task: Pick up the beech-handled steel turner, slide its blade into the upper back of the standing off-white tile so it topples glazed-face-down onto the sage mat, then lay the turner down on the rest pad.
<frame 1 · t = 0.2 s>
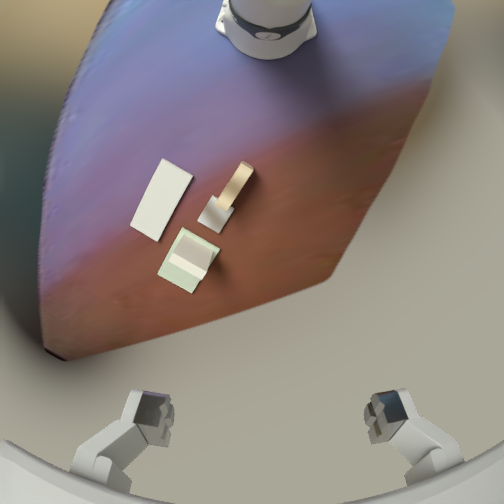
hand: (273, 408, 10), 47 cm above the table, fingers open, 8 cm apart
turner: (235, 183, 53), on the table
mat: (187, 261, 60), on the table
rest pad: (159, 201, 54), on the table
tile: (196, 246, 58), resting on mat
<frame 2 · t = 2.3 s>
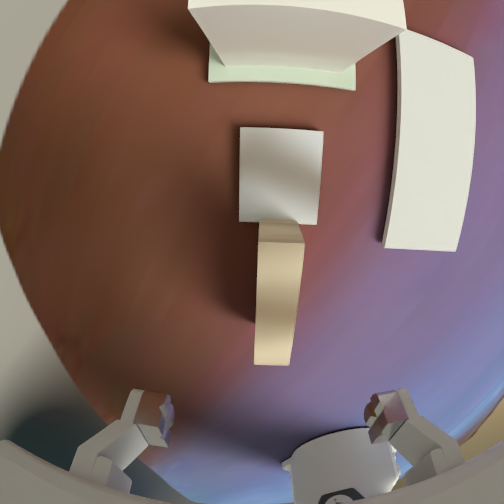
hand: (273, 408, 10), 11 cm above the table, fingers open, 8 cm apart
turner: (274, 277, 20), on the table
rest pad: (436, 142, 15), on the table
tile: (283, 52, 14), resting on mat
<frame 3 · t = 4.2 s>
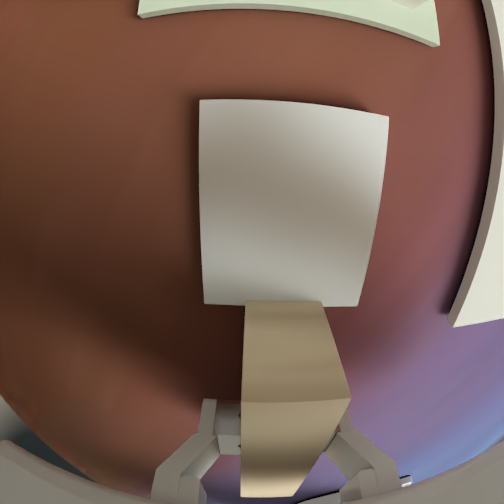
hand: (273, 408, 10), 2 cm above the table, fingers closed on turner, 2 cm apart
turner: (272, 377, 11), on the table, touching gripper
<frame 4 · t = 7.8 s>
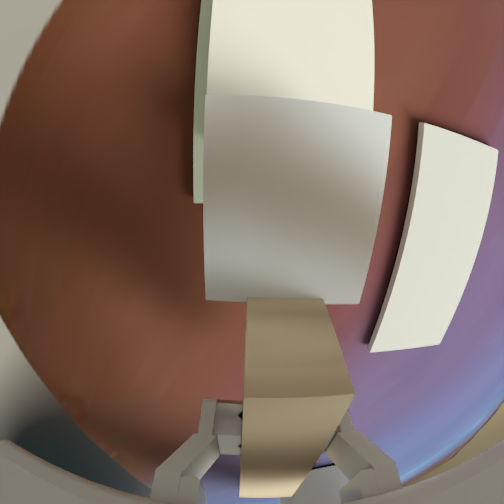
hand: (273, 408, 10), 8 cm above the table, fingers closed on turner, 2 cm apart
turner: (272, 376, 11), point 7 cm above the table, touching gripper
mat: (287, 81, 12), on the table
rest pad: (438, 253, 16), on the table
tile: (287, 147, 12), point 2 cm above the table, tilted 90°, touching mat
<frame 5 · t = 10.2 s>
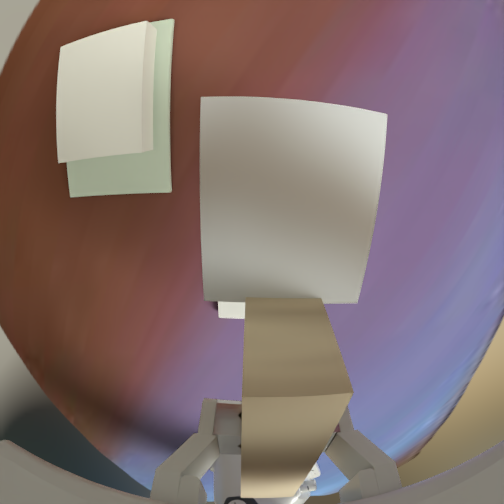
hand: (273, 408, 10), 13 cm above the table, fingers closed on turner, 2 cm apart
turner: (271, 376, 11), point 11 cm above the table, touching gripper
mat: (113, 108, 16), on the table
rest pad: (265, 224, 20), on the table
tile: (103, 155, 16), point 2 cm above the table, tilted 90°, touching mat
when the fingers open (3 cm above the table, at t = 12.2 s): turner stays where it is, resting on rest pad.
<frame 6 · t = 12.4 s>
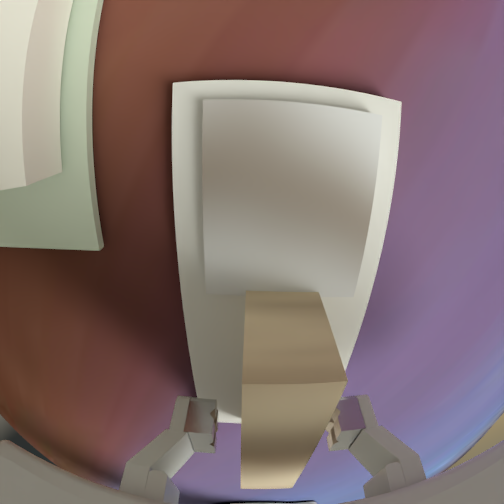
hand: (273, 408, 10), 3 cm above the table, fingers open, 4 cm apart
turner: (271, 369, 12), point 1 cm above the table, touching rest pad
mat: (14, 102, 7), on the table
rest pad: (275, 307, 11), on the table
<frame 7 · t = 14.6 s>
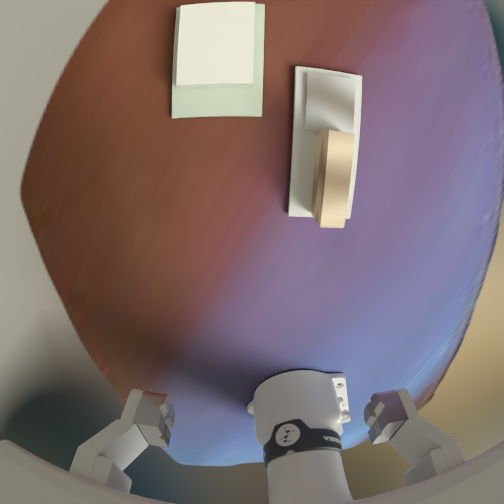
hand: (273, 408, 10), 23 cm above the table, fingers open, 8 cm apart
turner: (325, 171, 28), point 1 cm above the table, touching rest pad
mat: (217, 57, 23), on the table
rest pad: (325, 143, 27), on the table
tile: (215, 85, 23), point 2 cm above the table, tilted 90°, touching mat
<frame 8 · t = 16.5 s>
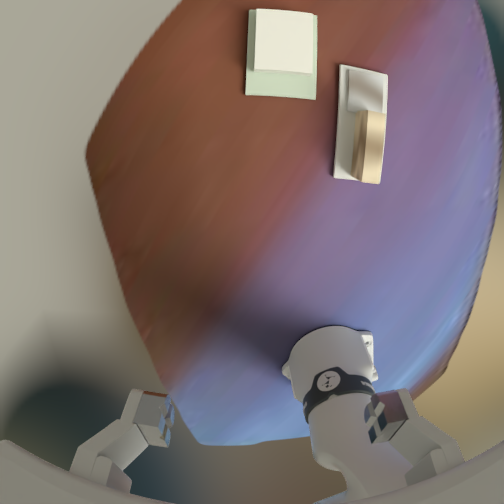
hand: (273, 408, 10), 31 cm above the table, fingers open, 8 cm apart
turner: (361, 144, 34), point 1 cm above the table, touching rest pad
mat: (282, 52, 29), on the table
rest pad: (361, 123, 33), on the table
tile: (282, 72, 29), point 2 cm above the table, tilted 90°, touching mat
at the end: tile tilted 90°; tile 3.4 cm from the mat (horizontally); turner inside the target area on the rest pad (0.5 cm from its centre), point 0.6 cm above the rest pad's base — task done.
